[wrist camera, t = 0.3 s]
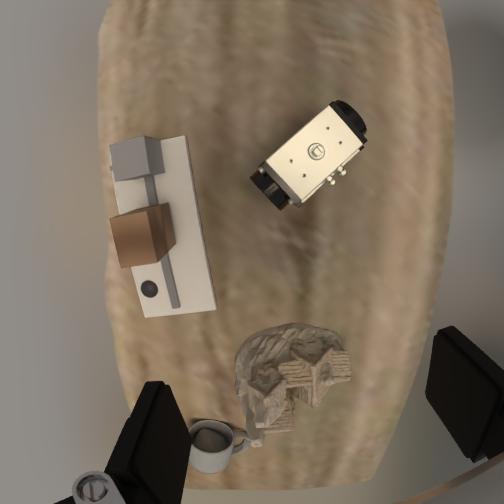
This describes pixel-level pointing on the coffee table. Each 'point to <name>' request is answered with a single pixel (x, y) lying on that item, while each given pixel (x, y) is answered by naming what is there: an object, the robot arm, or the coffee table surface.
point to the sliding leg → (143, 235)
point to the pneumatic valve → (312, 156)
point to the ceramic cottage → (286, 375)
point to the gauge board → (183, 219)
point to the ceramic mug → (214, 445)
